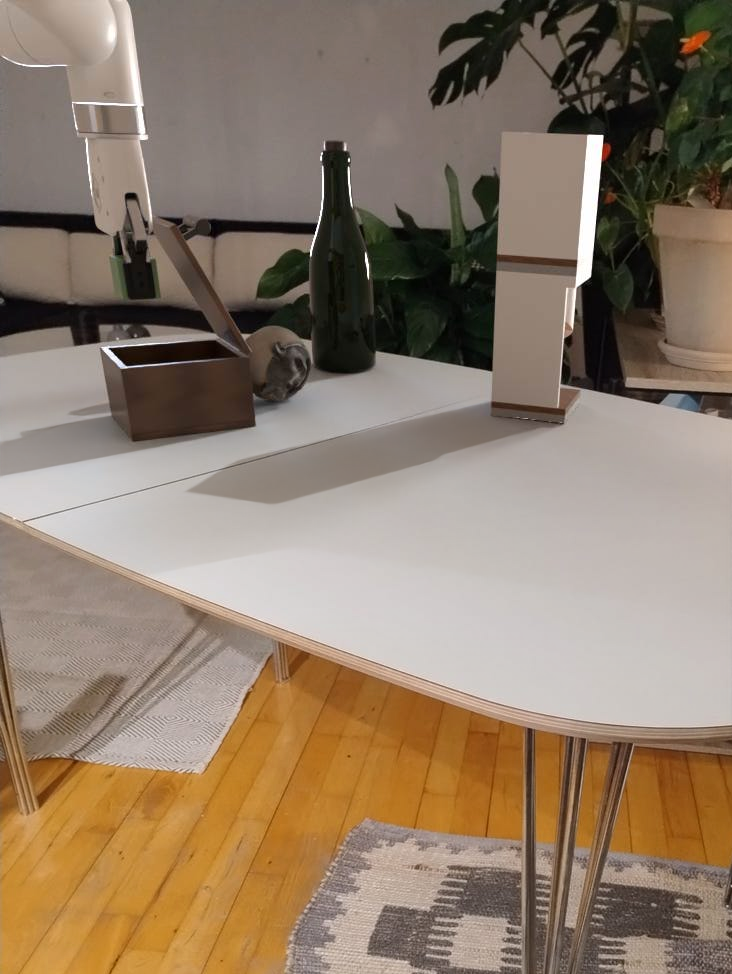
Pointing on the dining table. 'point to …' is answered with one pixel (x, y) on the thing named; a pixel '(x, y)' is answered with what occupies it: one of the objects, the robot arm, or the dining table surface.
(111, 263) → the block
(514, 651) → the dining table surface
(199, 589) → the dining table surface
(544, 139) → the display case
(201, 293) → the chest door
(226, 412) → the chest
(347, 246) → the dark green glass bottle
